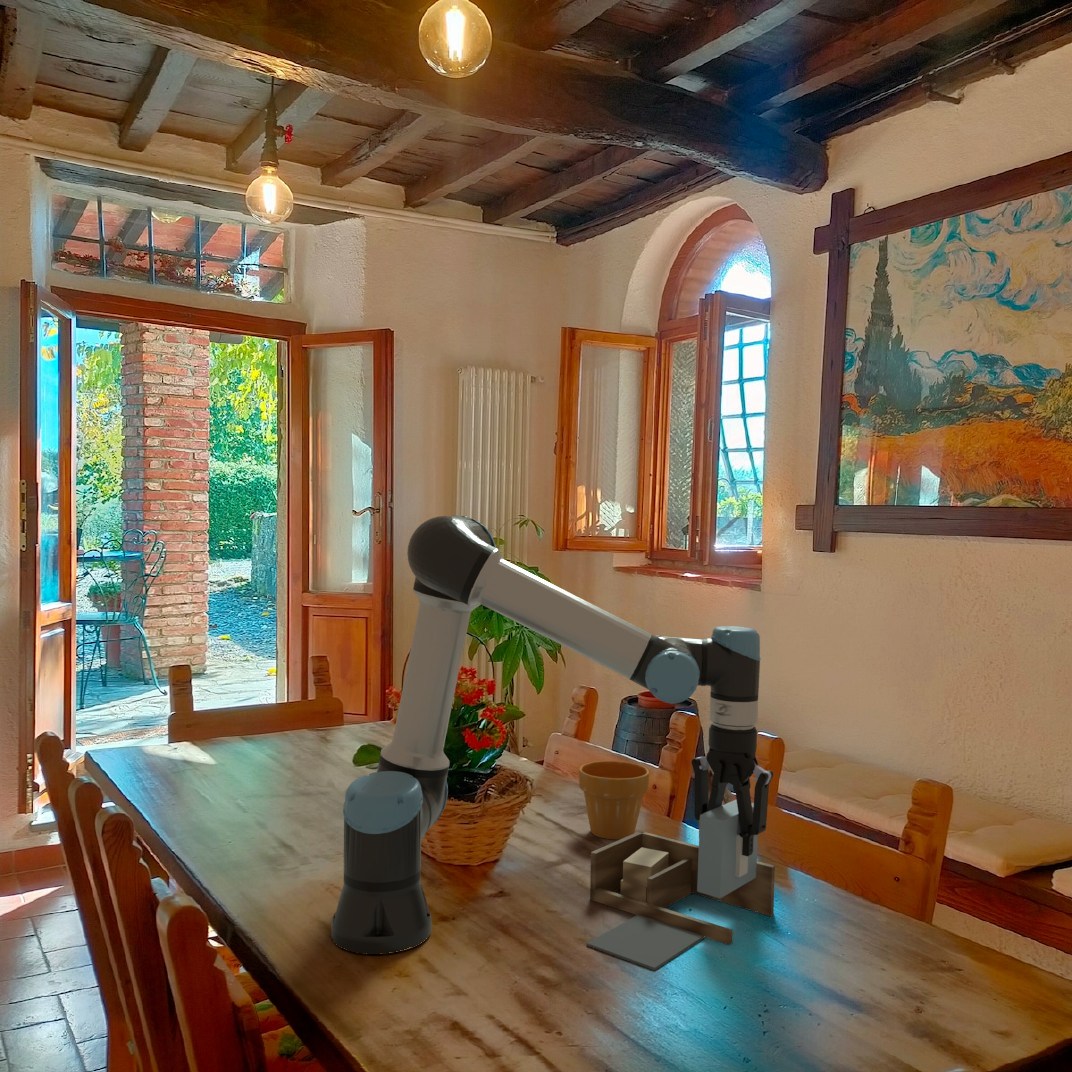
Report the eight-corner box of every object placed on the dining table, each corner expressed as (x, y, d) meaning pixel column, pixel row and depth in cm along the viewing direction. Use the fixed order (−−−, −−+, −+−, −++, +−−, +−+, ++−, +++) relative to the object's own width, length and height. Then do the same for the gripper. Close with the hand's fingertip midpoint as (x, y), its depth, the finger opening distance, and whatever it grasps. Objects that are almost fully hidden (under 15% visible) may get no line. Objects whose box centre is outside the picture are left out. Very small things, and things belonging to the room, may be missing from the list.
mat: (586, 945, 145) (586, 943, 145) (638, 916, 156) (638, 914, 156) (654, 970, 137) (654, 967, 137) (704, 938, 148) (704, 935, 148)
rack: (590, 899, 163) (590, 852, 162) (639, 874, 174) (640, 830, 174) (729, 945, 146) (730, 892, 146) (773, 914, 158) (774, 865, 157)
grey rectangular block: (697, 891, 151) (699, 815, 151) (733, 871, 160) (736, 799, 160) (720, 898, 148) (722, 820, 148) (756, 877, 158) (758, 804, 157)
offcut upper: (622, 882, 162) (623, 861, 162) (641, 867, 169) (641, 847, 169) (650, 888, 160) (651, 867, 160) (668, 872, 167) (668, 852, 167)
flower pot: (647, 823, 204) (648, 761, 203) (648, 846, 190) (649, 780, 189) (580, 820, 205) (581, 759, 205) (576, 842, 191) (577, 777, 191)
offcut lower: (620, 900, 163) (620, 880, 163) (646, 887, 169) (646, 867, 169) (645, 908, 160) (645, 887, 160) (670, 894, 166) (671, 874, 166)
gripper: (674, 719, 156) (669, 863, 157) (772, 737, 145) (766, 891, 146) (697, 713, 162) (692, 851, 163) (793, 730, 151) (788, 878, 152)
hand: (727, 870), depth 154 cm, fingers closed on grey rectangular block, 4 cm apart
